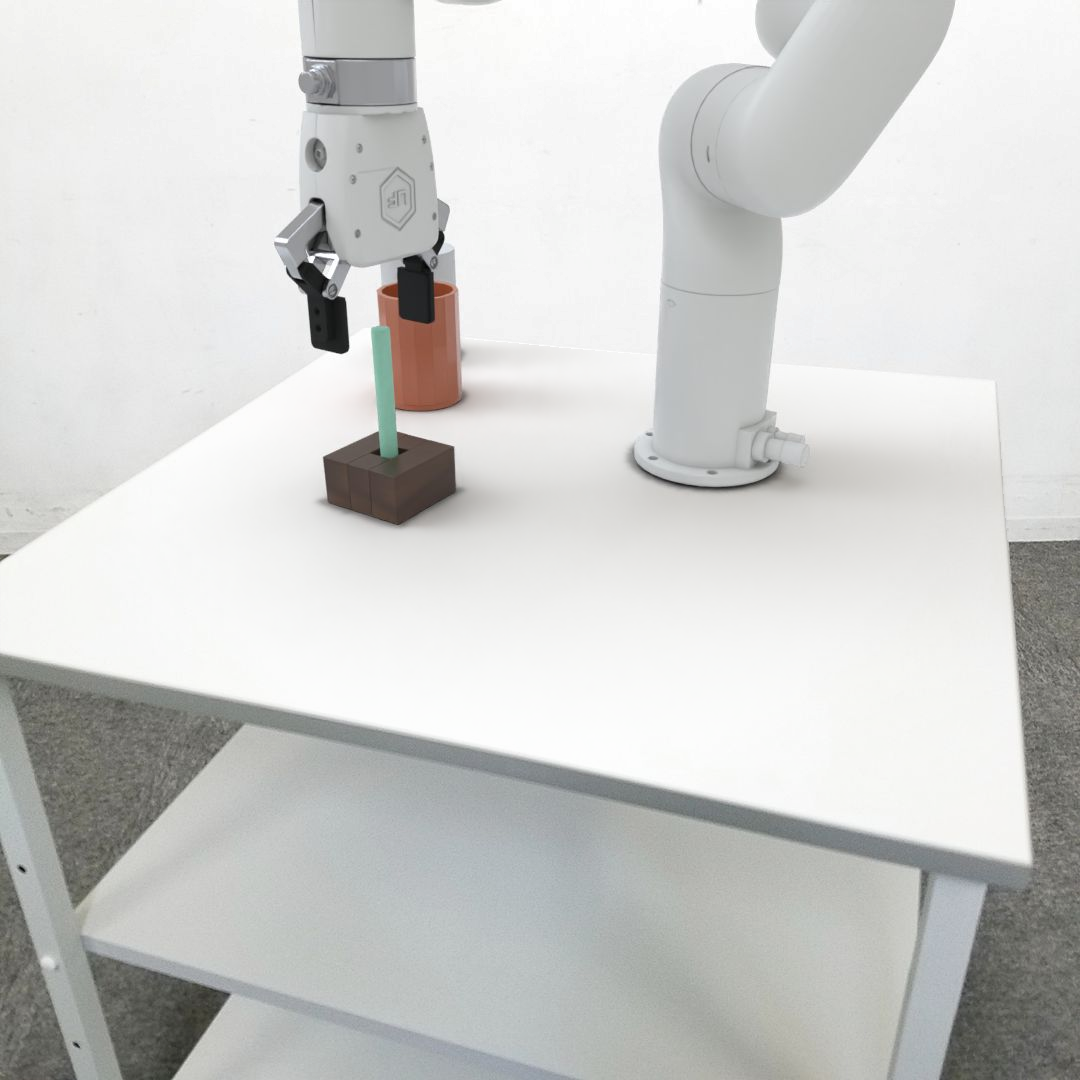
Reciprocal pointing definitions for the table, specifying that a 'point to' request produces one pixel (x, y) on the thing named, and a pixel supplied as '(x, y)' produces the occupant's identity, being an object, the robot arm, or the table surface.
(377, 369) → the straw
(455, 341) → the tumbler
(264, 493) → the table surface
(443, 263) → the light grey cylinder
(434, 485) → the holder
